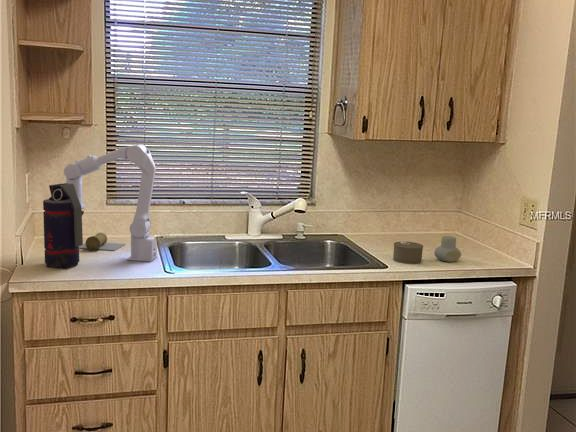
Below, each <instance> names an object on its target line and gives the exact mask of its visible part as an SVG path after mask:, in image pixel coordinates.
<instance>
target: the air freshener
mask: <svg viewBox="0 0 576 432" xmlns="http://www.w3.org/2000/svg"><path fill="white" fill-rule="evenodd" d="M440 242H441V243H440V246H437V247H436V248H435V249H434V252H433V254H434V256H435V258H436V259H438V260H440V261H441V262H445V263H454V262H456V261H458V260H459V259H460V258H461V257H462V252H461V250H460V249H458V247H456V246H457V237H455V236H450V235H443V236H442V237H441V241H440Z"/></svg>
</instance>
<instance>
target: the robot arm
mask: <svg viewBox="0 0 576 432" xmlns="http://www.w3.org/2000/svg"><path fill="white" fill-rule="evenodd" d="M118 159H121V160H128V161H130V162H131V163H133V164H135V165H136V166H137V167H138V168H139V170H140V171H141V176H140V183H139V190H138V196H137V202H136V203H137V204H136V210H135V213H134V216H133V221H132V222H131V224H130V225H129V232H130V256H129V257H128V258H127V261H138V262H139V261H140V262H152V261H154V260H155V259H156V258H158V256H157V252H158V251H157V249H158V248H157V243H158V242H157V241H158V240H157V237H154V236H151V234H150V232H149V231H150V229H151V227H152V224H151V221H150V220H151V219H150V218H151V214H150V210H151V209H150V208H151V202H152V196H153V189H154V184H155V183H154V182H155V177H156V176H155V175H156V170H157V168H156V164H155V162H154V159H153V157H152V154H151V151H150V150H149V148H147V146H146V145H144V144H142V143H138V144H135V145H134V144H133V145H128V146H124V147H120V148H118V149H114V150H113V151H111V152H108V153H106V154H102V155H101V156H96V155H91V154H88V155H87V156H86V158H83V159H80V160H78V159H77V160H75V161H74V163H68V164H67V165H66V166H64V170H63V174H64V176H65V183H68V184H74V187H75V190H76V194H77V197H78V199H79V202H80V204H81V208H82V216H84V213H85V212H84V210H83V209H86V203H83V176H86V175H89V174H92V173H94V172H96V171H100V170H101V168H102V166H103V165H105V164H108V163H110V162H113V161H116V160H118Z"/></svg>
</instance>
